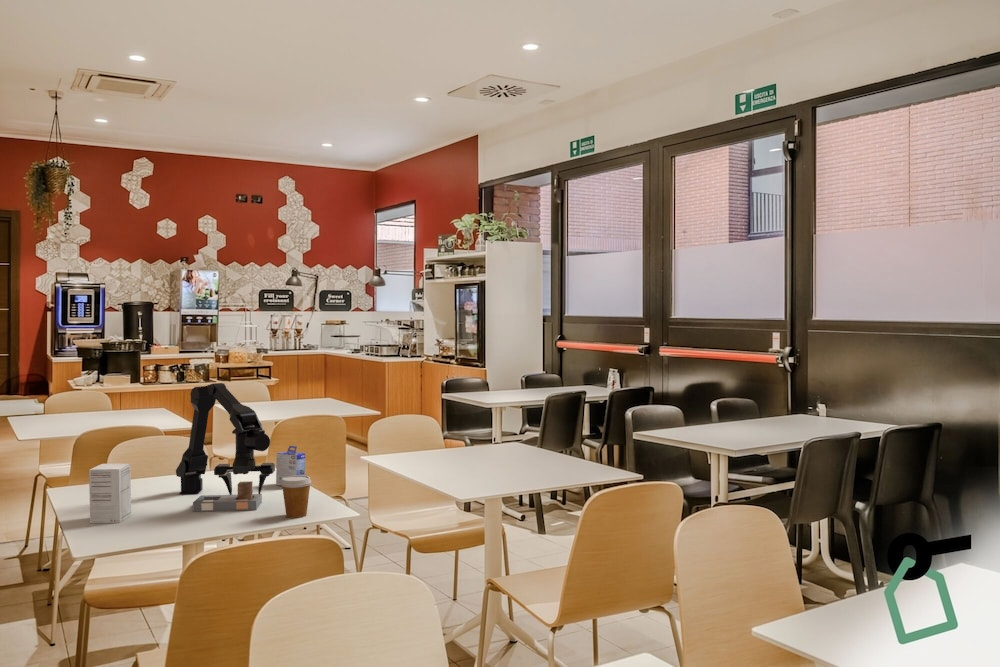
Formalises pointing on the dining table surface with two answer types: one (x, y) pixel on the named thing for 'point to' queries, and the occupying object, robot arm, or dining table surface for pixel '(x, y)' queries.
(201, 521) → the dining table surface
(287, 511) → the disposable coffee cup
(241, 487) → the walnut plug
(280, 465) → the ink cartridge box
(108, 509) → the supplement box
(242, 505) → the socket board
